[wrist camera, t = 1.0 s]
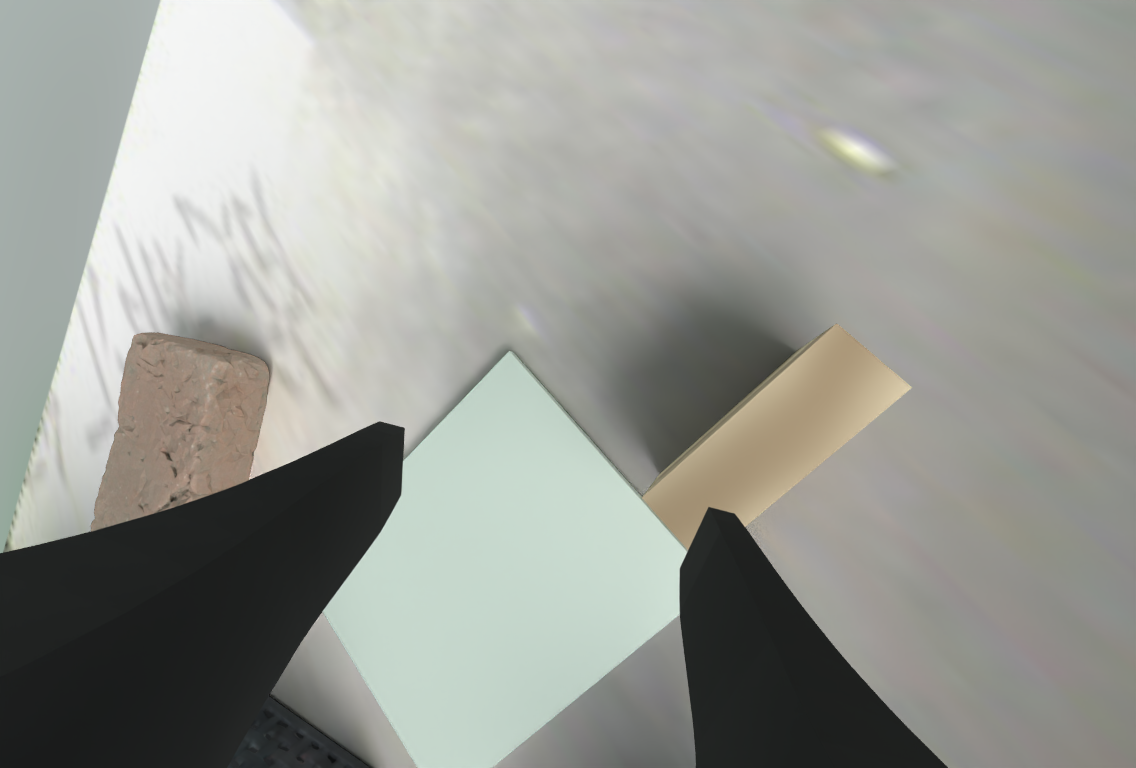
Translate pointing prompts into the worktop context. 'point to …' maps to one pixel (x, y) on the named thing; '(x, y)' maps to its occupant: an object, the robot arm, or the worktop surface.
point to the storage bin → (288, 743)
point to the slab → (776, 434)
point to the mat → (503, 577)
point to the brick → (180, 426)
